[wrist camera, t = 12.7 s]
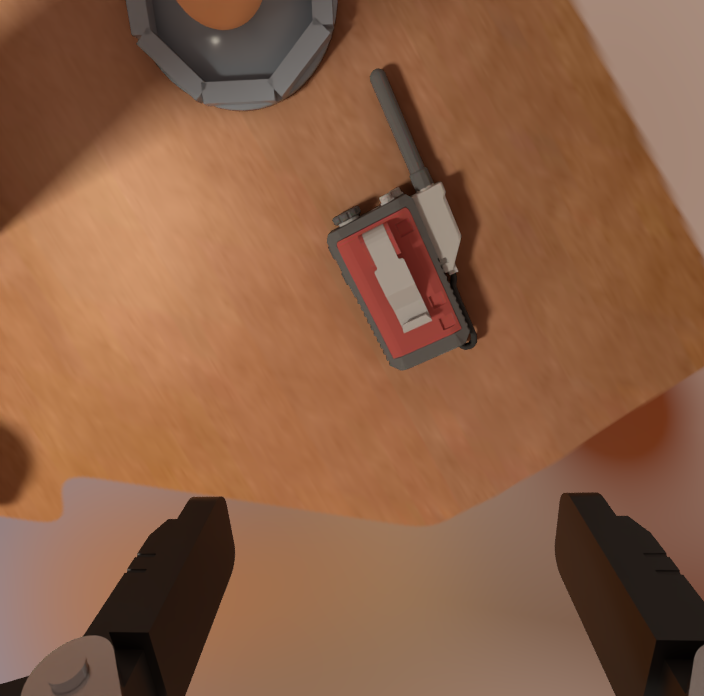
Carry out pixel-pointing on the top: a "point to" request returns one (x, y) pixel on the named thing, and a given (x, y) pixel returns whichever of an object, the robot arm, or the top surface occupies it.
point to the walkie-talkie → (405, 258)
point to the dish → (236, 50)
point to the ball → (221, 12)
